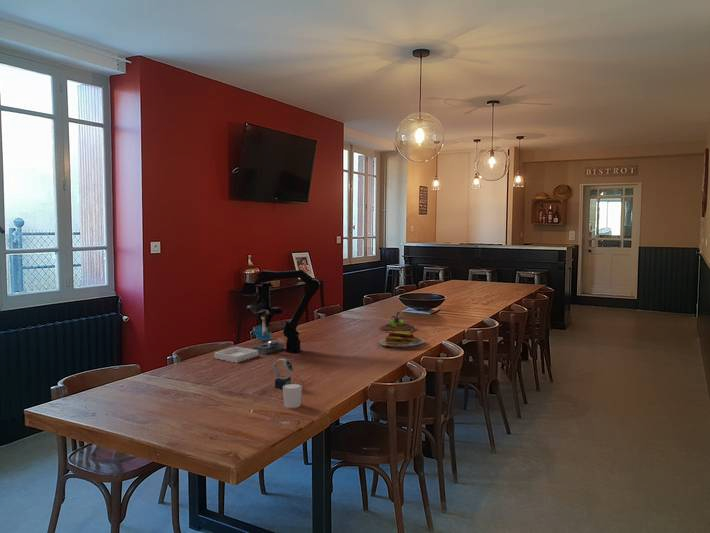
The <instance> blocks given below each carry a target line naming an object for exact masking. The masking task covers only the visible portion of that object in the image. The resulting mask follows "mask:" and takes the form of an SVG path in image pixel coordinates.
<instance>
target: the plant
mask: <svg viewBox="0 0 710 533" xmlns="http://www.w3.org/2000/svg"><path fill="white" fill-rule="evenodd" d="M400 314H401V313H400V311H397V312H396V315H395V316H394V315H392V316H391V317H390V318H389V319H390V321H389V320H388V322H389V323H387V324H384V325H380V327H379V331H380V330H382V331H411V330H412V329H414V330H415V326H414V325H412V324H409V323H405V317H404V316H400V317H399V316H398V315H400ZM393 318H394V319H393ZM382 331H381V332H382Z"/></svg>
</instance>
